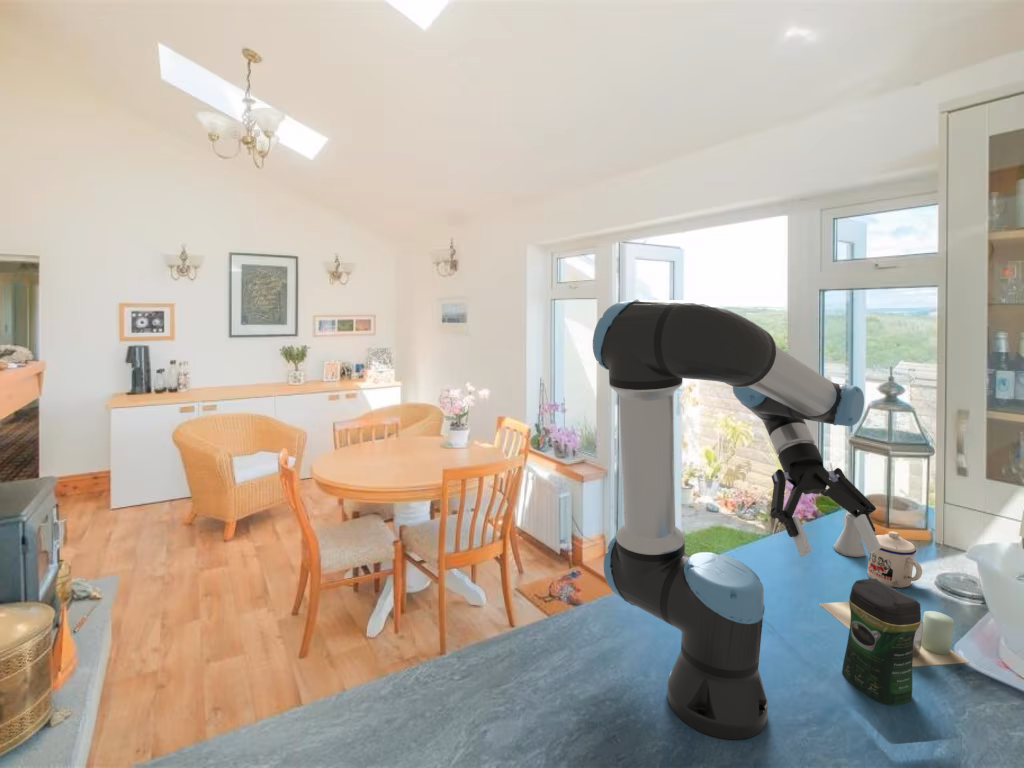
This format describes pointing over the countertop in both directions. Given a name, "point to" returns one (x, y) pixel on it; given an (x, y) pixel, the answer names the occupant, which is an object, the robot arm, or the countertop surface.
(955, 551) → the countertop surface
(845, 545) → the flask
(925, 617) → the sage tin
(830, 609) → the birch board
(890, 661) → the coffee jar
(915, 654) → the shiny silver cylinder
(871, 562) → the teacup with lid
